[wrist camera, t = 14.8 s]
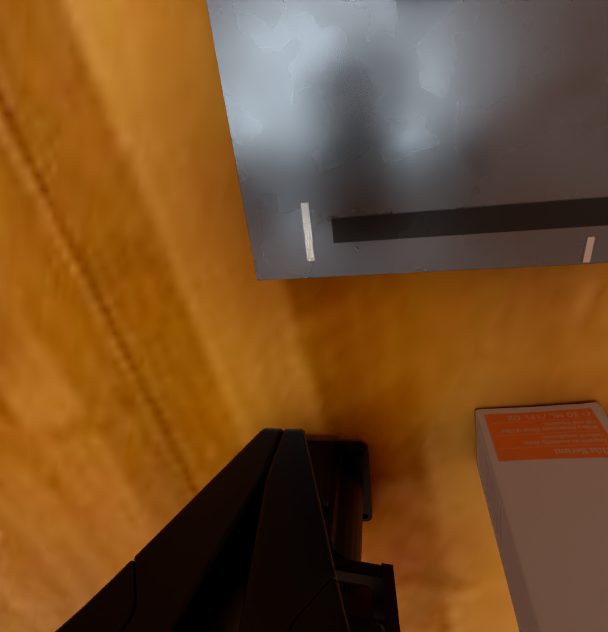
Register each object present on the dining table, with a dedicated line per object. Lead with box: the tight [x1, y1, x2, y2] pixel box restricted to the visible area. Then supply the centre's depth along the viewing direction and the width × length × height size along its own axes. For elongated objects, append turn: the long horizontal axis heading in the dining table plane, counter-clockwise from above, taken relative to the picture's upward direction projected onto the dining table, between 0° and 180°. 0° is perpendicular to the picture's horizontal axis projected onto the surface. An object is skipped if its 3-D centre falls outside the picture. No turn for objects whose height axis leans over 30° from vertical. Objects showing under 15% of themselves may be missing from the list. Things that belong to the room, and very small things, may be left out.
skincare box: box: [475, 402, 608, 632], centre depth 17 cm, size 6×4×12 cm
